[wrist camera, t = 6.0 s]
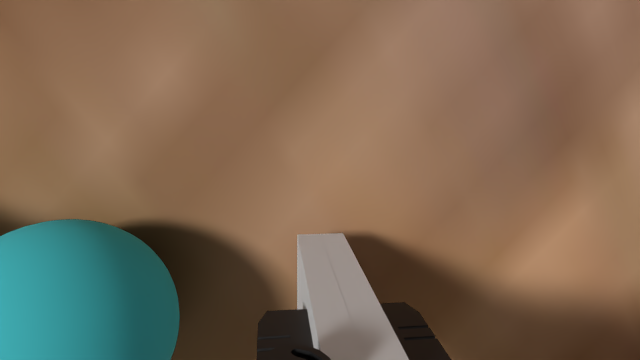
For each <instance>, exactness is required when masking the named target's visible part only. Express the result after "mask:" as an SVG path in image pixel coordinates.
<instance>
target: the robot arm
mask: <svg viewBox="0 0 640 360" xmlns="http://www.w3.org/2000/svg"><path fill="white" fill-rule="evenodd" d="M257 360H451V359H450V357H449V356H448V354H447V353H446V351H445V350H444V348H443V347H442V345H441V344H440V343H439V341H438V340H437V339H435V335H434V334H433V332H432V331H431V329H430V328H428V325H427V323H426V322H425V320H424V319H423V317H422V316H421V314H420V313H419V312H418V311H416V310H415V309H413V308H412V307H410V306H409V305H407V304H406V303H404V302H402V303H383V304H380V303H379V301H378V299H377V297H376V296H375V294H374V292H373V290H372V288H371V286H370V284H369V282H368V280H367V278H366V276H365V274H364V272H363V271H362V269H361V267H360V265H359V263H358V261H357V259H356V257H355V255H354V253H353V251H352V249H351V248H350V246H349V244H348V242H347V240H346V238H345V236H344V234H343V233H333V234H300V235H297V310H278V311H267V312H266V313H265V315H264V316H263V317H262V319H261V320H260V321H259V323H258V340H257Z"/></svg>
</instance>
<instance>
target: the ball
mask: <svg viewBox="0 0 640 360" xmlns="http://www.w3.org/2000/svg"><path fill="white" fill-rule="evenodd" d="M179 320H180V313H179V303H178V296H177V292H176V288H175V285H174V282H173V280H172V278H171V275H170V273H169V271H168V269H167V268H166V266H165V265H164V263H163V262H162V260H161V259H160V258H159V257H158V255H157V254H156V253H155V252H154V251H153V250H152V249H151V248H150V247H149V246H148V245H147V244H145V243H144V242H143V241H142V240H140V239H138V238H137V237H135V236H134V235H132V234H130V233H128V232H126V231H124V230H122V229H119V228H117V227H115V226H111V225H108V224H105V223H101V222H96V221H90V220H79V219H66V220H54V221H46V222H41V223H37V224H33V225H29V226H25V227H22V228H19V229H16V230H13V231H11V232H8V233H6V234H4V235H2V236H0V360H171V357H172V355H173V352H174V349H175V346H176V342H177V337H178V331H179Z"/></svg>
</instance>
